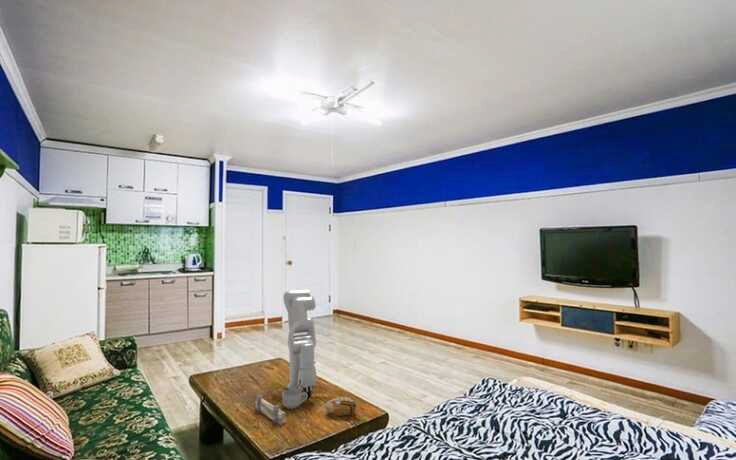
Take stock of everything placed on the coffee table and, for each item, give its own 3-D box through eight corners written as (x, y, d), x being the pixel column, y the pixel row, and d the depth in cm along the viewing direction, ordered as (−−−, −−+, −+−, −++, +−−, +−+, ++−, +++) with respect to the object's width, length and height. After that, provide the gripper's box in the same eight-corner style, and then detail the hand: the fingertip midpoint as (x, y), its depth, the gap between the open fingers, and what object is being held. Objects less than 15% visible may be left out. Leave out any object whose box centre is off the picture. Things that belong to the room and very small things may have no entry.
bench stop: (260, 407, 204) (260, 392, 204) (285, 423, 185) (285, 406, 185) (253, 409, 201) (253, 394, 201) (277, 426, 182) (277, 409, 182)
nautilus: (368, 419, 189) (344, 430, 179) (343, 403, 205) (320, 412, 196) (368, 403, 189) (344, 414, 179) (343, 389, 205) (320, 398, 195)
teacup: (278, 409, 200) (278, 394, 200) (287, 401, 210) (287, 387, 211) (302, 412, 197) (302, 396, 197) (310, 403, 207) (310, 389, 207)
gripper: (314, 360, 218) (314, 392, 217) (292, 366, 208) (292, 400, 207) (322, 363, 213) (322, 396, 212) (300, 370, 202) (300, 404, 202)
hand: (307, 398), depth 209 cm, fingers closed
